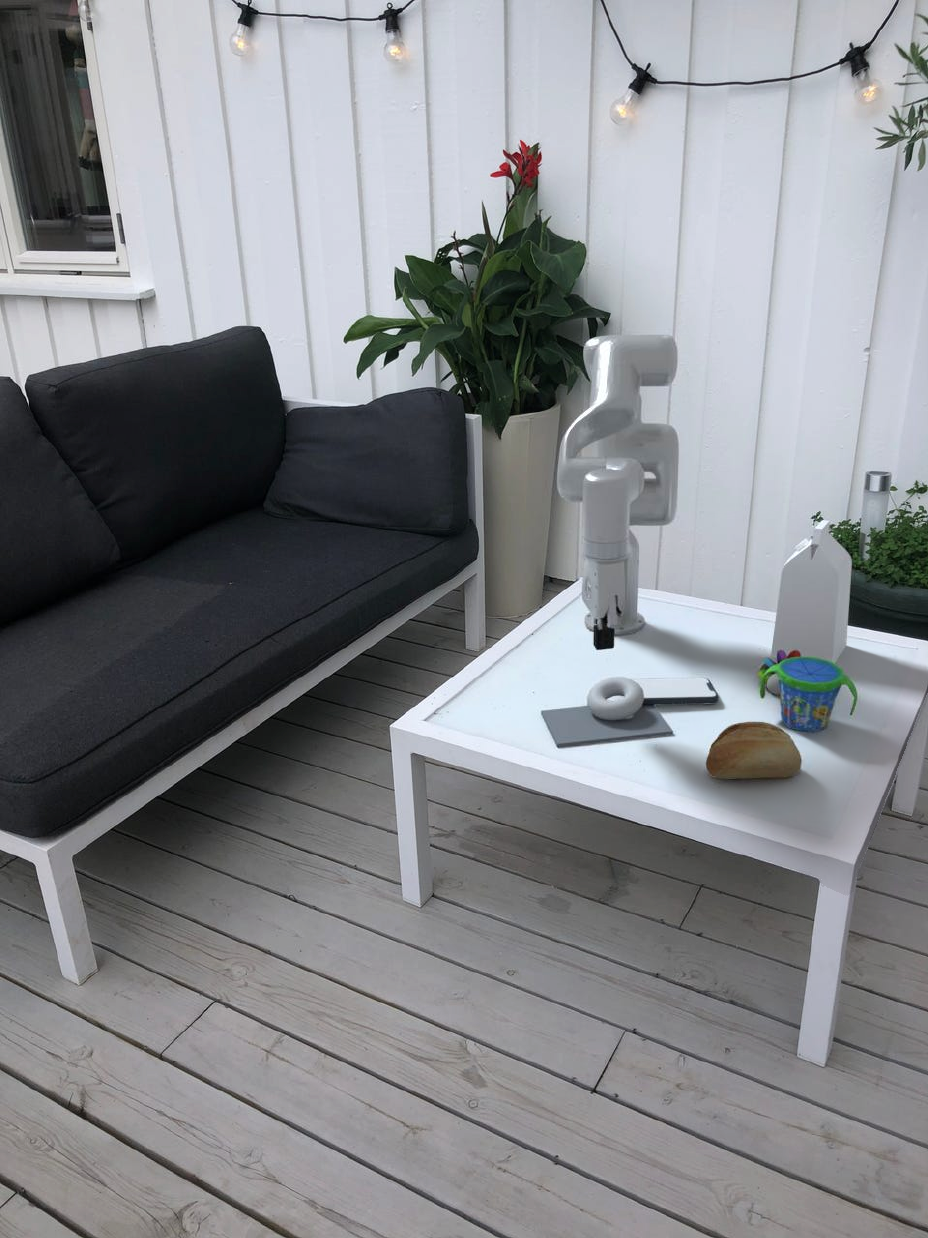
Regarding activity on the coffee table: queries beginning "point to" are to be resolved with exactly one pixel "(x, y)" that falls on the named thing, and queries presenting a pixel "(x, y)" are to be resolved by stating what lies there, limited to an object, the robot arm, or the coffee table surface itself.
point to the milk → (814, 599)
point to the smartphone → (677, 691)
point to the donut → (620, 707)
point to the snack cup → (808, 691)
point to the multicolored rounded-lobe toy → (772, 677)
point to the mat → (602, 725)
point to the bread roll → (753, 752)
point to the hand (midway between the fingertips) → (603, 647)
